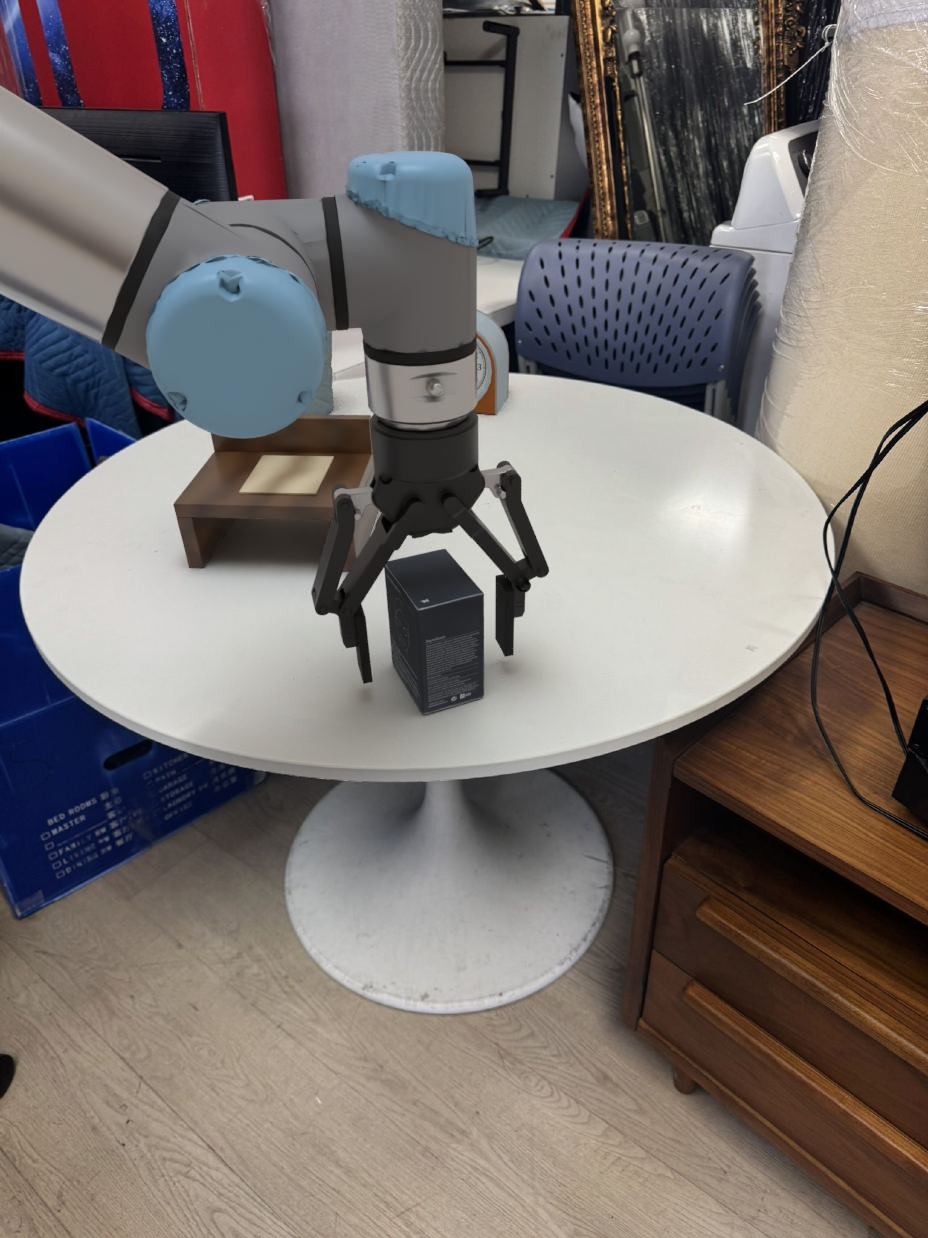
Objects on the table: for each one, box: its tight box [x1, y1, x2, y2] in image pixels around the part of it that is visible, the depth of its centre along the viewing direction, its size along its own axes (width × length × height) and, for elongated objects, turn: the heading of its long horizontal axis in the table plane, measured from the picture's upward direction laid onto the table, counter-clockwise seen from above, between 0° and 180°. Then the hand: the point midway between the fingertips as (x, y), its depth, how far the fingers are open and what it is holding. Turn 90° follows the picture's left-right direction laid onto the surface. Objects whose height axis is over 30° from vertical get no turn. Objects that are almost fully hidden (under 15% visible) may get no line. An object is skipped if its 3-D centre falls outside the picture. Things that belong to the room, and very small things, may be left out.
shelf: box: [173, 414, 379, 573], centre depth 88 cm, size 18×14×12 cm
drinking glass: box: [303, 331, 334, 415], centre depth 119 cm, size 10×10×12 cm
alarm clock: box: [473, 309, 510, 416], centre depth 120 cm, size 15×8×14 cm, turn 74°
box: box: [383, 548, 485, 715], centre depth 67 cm, size 8×6×11 cm
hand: (436, 659), depth 69 cm, fingers open, 11 cm apart
